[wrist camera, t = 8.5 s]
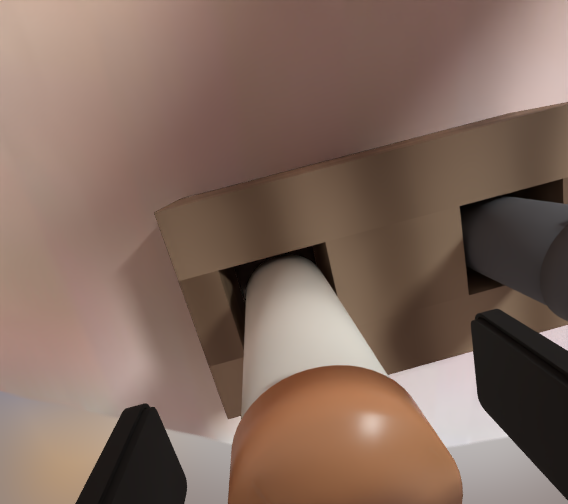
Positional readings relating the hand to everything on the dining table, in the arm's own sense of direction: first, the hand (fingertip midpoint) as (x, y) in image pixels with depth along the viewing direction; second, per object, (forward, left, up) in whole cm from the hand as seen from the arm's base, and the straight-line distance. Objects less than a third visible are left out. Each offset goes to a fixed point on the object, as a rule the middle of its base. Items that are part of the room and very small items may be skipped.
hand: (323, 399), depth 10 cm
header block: (-6, 0, -14) cm, 15 cm away
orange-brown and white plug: (0, 0, -9) cm, 9 cm away
